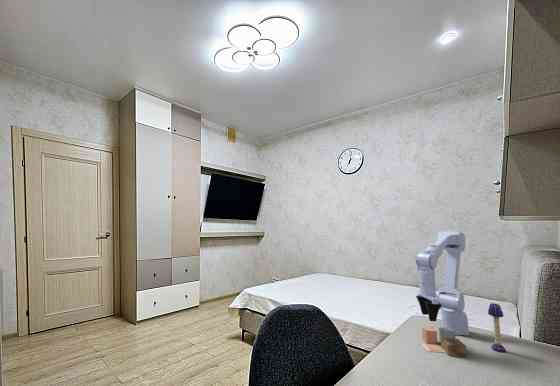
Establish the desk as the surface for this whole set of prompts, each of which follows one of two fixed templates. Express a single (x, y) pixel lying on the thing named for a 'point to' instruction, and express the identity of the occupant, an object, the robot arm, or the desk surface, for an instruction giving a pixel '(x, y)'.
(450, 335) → the slate grey block
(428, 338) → the terracotta block
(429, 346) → the terracotta swatch tile
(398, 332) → the desk surface
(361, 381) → the desk surface
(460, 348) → the walnut base block
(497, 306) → the toy lamp
